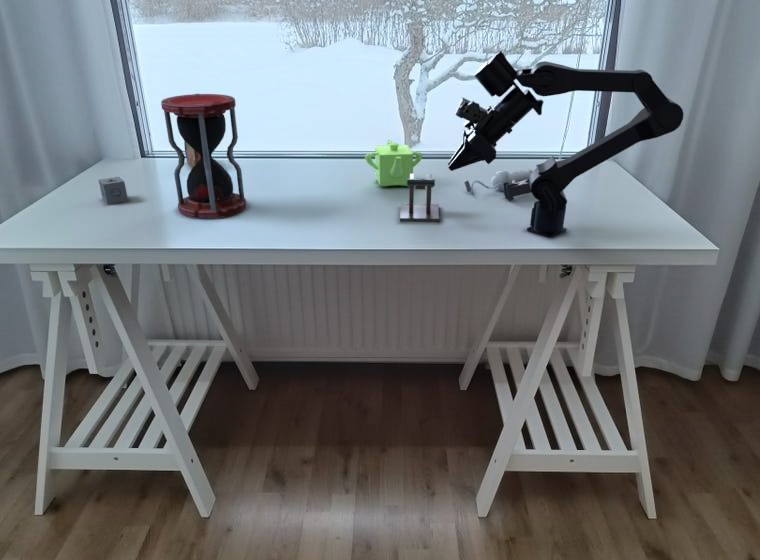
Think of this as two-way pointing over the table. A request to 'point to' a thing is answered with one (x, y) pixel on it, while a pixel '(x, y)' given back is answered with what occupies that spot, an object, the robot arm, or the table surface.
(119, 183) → the dice cube
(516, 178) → the clip-on lamp
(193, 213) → the hourglass
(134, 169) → the table surface
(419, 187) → the tap lever
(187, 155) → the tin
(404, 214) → the stand
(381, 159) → the teapot
